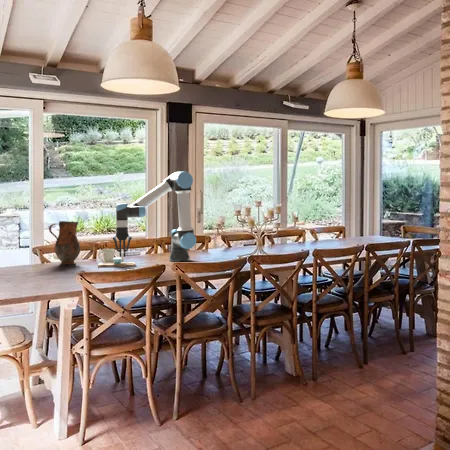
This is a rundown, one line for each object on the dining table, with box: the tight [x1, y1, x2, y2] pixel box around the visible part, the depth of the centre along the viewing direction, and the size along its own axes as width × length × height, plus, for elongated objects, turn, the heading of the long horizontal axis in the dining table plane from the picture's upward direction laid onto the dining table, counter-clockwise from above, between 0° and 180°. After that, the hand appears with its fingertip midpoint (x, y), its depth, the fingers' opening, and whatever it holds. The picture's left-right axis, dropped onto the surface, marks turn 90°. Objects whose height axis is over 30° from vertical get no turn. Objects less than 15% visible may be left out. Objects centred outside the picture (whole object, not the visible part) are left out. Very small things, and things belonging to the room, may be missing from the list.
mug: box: [97, 248, 116, 263], centre depth 355 cm, size 8×13×10 cm, turn 78°
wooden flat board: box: [97, 262, 136, 269], centre depth 338 cm, size 24×9×3 cm, turn 98°
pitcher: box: [48, 220, 81, 267], centre depth 345 cm, size 17×21×30 cm
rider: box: [113, 257, 122, 264], centre depth 338 cm, size 5×6×5 cm
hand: (122, 261), depth 338 cm, fingers closed
